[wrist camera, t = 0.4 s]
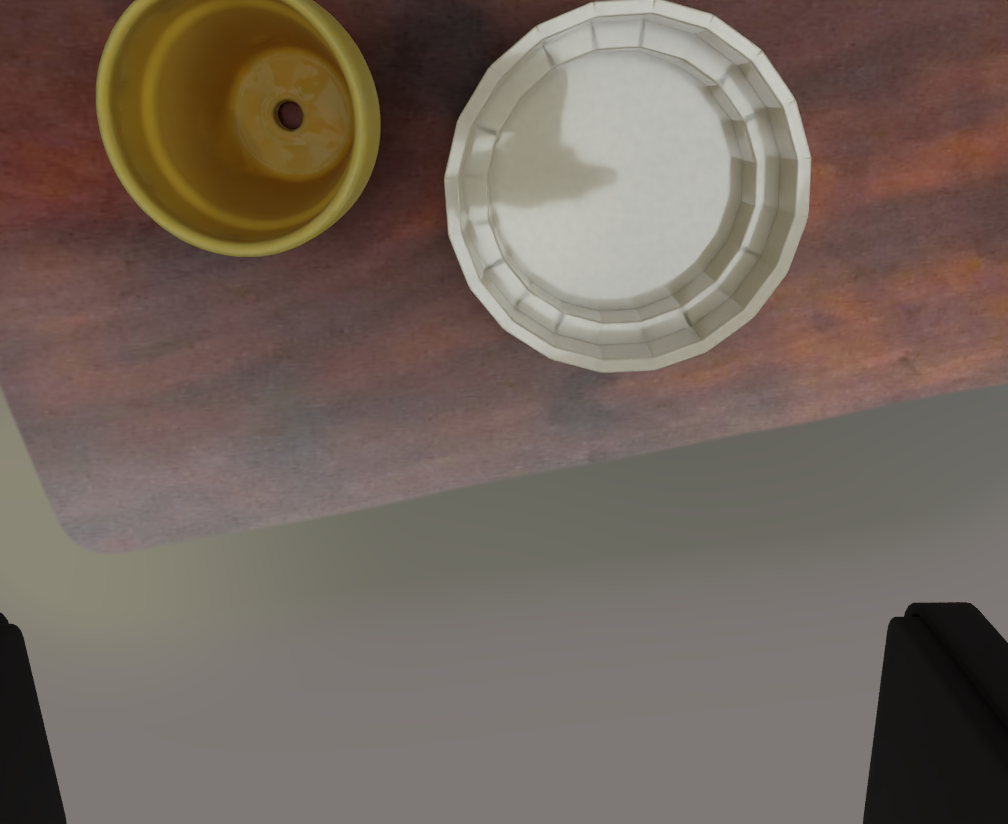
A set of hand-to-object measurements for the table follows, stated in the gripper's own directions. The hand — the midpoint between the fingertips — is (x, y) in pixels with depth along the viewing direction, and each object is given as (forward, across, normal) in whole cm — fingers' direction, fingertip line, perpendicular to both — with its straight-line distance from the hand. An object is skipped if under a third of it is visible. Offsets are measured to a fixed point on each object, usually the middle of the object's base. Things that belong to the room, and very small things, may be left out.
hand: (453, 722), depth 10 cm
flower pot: (+36, +10, -6) cm, 38 cm away
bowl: (+36, -5, -3) cm, 37 cm away
